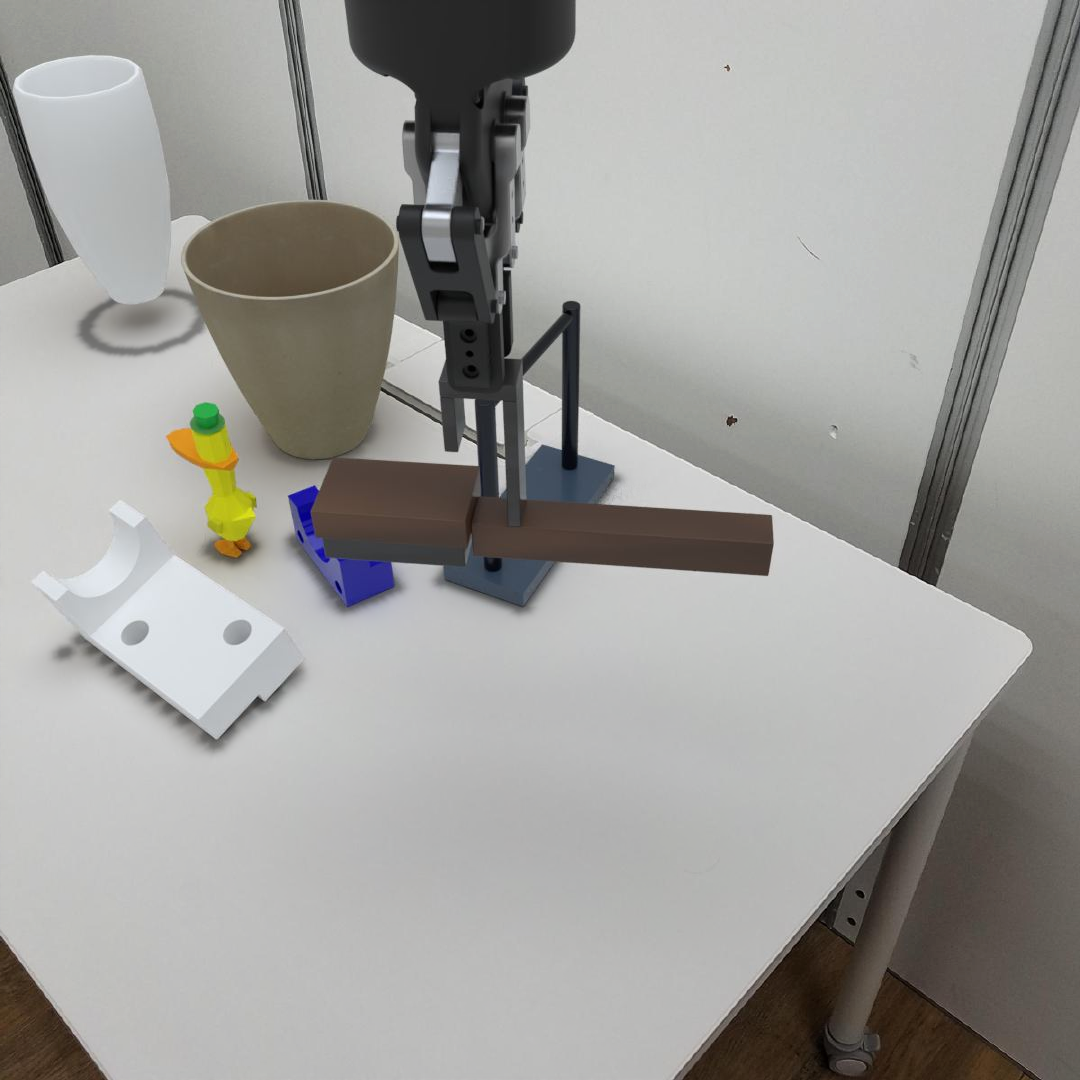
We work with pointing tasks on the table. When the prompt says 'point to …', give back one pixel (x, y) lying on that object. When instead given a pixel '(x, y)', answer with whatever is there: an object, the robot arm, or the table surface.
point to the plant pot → (300, 315)
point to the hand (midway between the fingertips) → (482, 367)
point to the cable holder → (342, 574)
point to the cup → (101, 168)
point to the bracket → (174, 626)
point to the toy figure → (217, 477)
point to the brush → (515, 512)
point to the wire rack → (535, 470)
